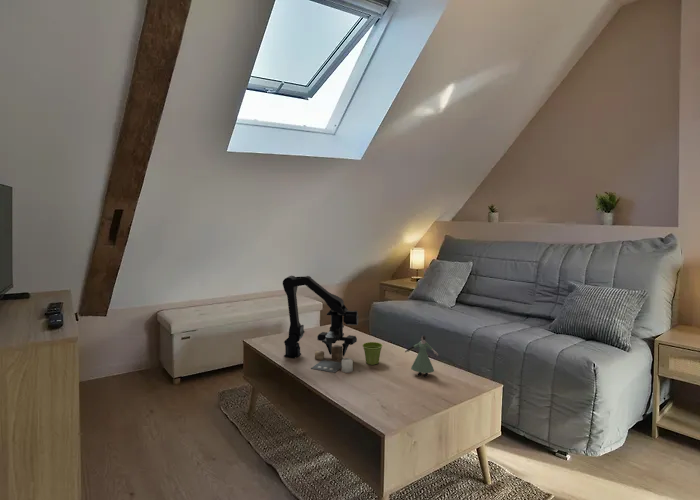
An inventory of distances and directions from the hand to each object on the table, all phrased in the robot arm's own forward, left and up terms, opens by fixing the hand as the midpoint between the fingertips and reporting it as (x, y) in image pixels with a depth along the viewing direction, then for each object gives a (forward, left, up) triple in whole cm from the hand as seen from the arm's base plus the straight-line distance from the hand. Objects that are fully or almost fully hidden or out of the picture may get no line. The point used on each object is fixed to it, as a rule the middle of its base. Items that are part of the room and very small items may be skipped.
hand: (337, 355), depth 225 cm
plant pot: (+18, +1, -2) cm, 18 cm away
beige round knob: (-8, -3, -2) cm, 9 cm away
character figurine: (+43, -5, -2) cm, 43 cm away
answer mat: (+1, -11, -2) cm, 12 cm away
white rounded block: (+11, -13, -2) cm, 17 cm away
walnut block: (0, 0, -2) cm, 2 cm away
